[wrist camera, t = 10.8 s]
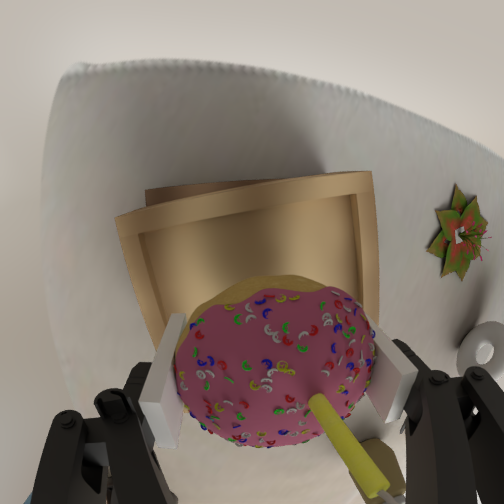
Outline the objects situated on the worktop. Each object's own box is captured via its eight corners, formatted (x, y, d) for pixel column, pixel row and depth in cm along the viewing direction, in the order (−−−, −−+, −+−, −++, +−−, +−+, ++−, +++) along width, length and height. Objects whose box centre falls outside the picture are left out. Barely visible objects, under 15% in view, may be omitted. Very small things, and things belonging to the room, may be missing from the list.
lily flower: (449, 165, 25) (475, 166, 21) (493, 218, 27) (516, 224, 23) (408, 255, 27) (432, 267, 23) (458, 294, 29) (479, 307, 25)
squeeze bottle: (378, 453, 37) (412, 524, 19) (338, 464, 36) (366, 542, 19) (391, 428, 35) (435, 505, 17) (348, 440, 34) (385, 528, 17)
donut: (480, 306, 30) (524, 335, 20) (486, 315, 31) (527, 343, 21) (441, 361, 32) (479, 399, 22) (449, 367, 32) (484, 403, 23)
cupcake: (296, 216, 14) (500, 353, 2) (358, 335, 16) (466, 487, 4) (157, 302, 14) (61, 506, 3) (241, 399, 16) (255, 570, 5)
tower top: (190, 374, 23) (184, 412, 18) (140, 208, 19) (114, 217, 14) (352, 342, 24) (374, 374, 19) (340, 171, 20) (371, 170, 15)
